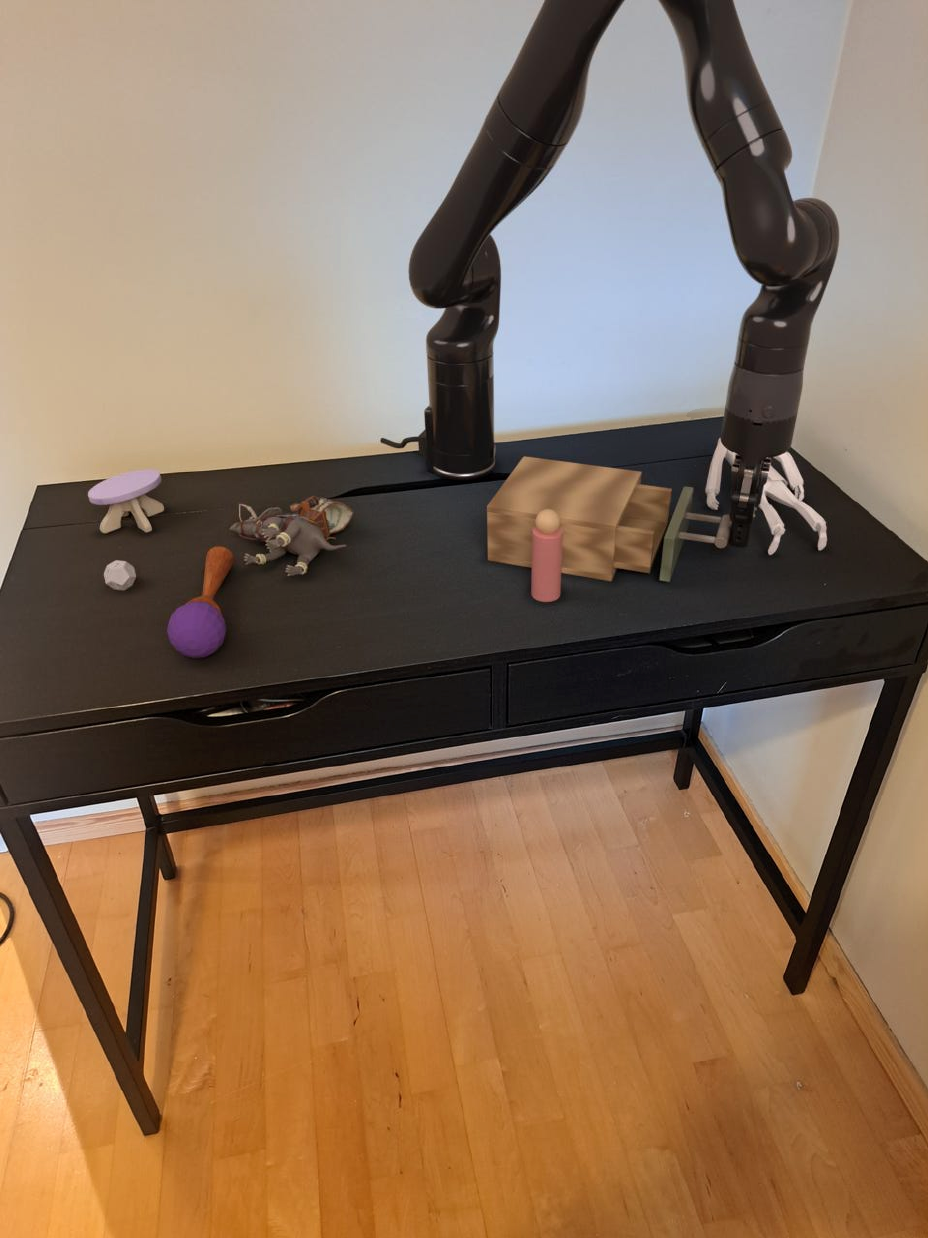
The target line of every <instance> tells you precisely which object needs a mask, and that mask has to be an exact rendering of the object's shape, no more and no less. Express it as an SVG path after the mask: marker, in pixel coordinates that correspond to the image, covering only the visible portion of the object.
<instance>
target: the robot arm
mask: <svg viewBox="0 0 928 1238" xmlns="http://www.w3.org/2000/svg"><path fill="white" fill-rule="evenodd" d="M625 1H626V0H544V1H543V3H542V5H541V7H540V9H539V11H538V14H537V16H536V18H535V19H534V21H533V24H532V26H531V27H530V30H529V31H528V34H527V36H526V38H525V40H524V42H523V44H522V46H521V48H520V50H519V52H518V54H517V57H516V59H515V61H514V63H513V65H512V66H511V69H510V71H509V72H508V74H507V75H506V77H505V80H504V81H503V83H502V85H501V87H500V88H499V90H498V92H497V95H496V96H495V98H494V100H493V102H492V103H491V104H492V105H491V106H490V109H489V110H488V113H487V114H486V116H485V118H484V120H483V123H482V124H481V128H480V129H479V132H478V133H477V136H476V138H475V140H474V142H473V144H472V146H471V148H470V149H469V152H468V153H467V155H466V157H465V159H464V161H463V163H462V165H461V167H460V169H459V170H458V173H457V175H456V177H455V179H454V181H453V182H452V184H451V187H450V189H449V190H448V192H447V193H446V195H445V197H444V198H443V200H442V201H441V203H440V205H439V206H438V208H437V209H436V211H435V213H434V214H433V216H432V217H431V219H430V220H429V221H428V223H427V225H426V226H425V228H424V229H423V231H422V232H421V234H420V235H419V236H418V237H417V240H416V242H415V244H414V246H413V248H412V250H411V253H410V256H409V259H408V260H409V261H408V270H407V271H408V281H409V287H410V289H411V292H412V293H413V295H414V297H415V298H416V300H417V301H418V302H419V303H421V304H422V305H424V306H425V307H428V308H431V309H435V310H436V309H438V310H439V309H440V310H441V309H444V310H443V313H442V314H441V316H440V318H439V319H438V320H437V321H436V322H435V323H434V325H433V326H432V327H431V328H430V329H429V330H428V332H427V333H426V335H425V336H426V337H425V351H426V367H427V385H428V386H427V387H428V389H427V390H428V406H426V408H424V412H423V414H424V415H423V417H424V430H423V431H422V432H421V433H419V434H418V435H417V436H408V437H406V438H403V439H402V441H401V442H395V441H392V440H389V439H387V438H385V437H380V441H379V442H380V444H384V445H385V446H388V447H391V448H393V449H404V448H406V446H407V444H409V443H418V456H423V457H426V469H427V472H430V473H434V474H435V475H436V476H438V477H440V478H443V479H447V480H450V481H471V480H478V479H481V478H484V477H486V476H488V475H490V474H492V473H493V472H494V470H495V468H496V457H495V456H496V453H497V446H496V445H497V444H496V443H497V442H496V441H495V377H494V375H495V374H494V373H495V371H494V370H495V369H494V360H495V359H494V358H495V357H494V342H495V339H496V337H497V334H498V331H499V328H500V314H501V313H500V312H501V294H502V293H501V291H502V265H501V256H500V252H499V249H498V246H497V243H496V241H495V239H494V237H493V236H492V233H493V231H494V230H495V229H496V228H497V227H498V226H499V225H500V224H501V223H502V222H503V221H504V220H505V219H506V218H507V217H508V216H509V215H510V214H511V213H512V212H514V211H515V210H516V209H517V208H518V207H519V206H520V205H521V204H522V203H524V201H525V200H527V198H529V197H530V196H531V194H533V193H534V192H535V191H536V190H537V189H538V187H540V186H541V184H542V183H543V182H544V181H545V180H546V179H547V177H548V176H549V175H550V173H552V171H553V169H554V168H555V166H556V165H557V163H558V161H559V159H560V158H561V156H562V155H563V153H564V151H565V150H566V148H567V147H568V145H569V143H570V141H571V140H572V139H573V136H574V134H575V132H576V130H577V128H578V126H579V124H580V121H581V118H582V115H583V112H584V109H585V104H586V96H587V91H588V90H587V89H588V83H589V82H588V81H589V74H590V69H591V63H592V61H593V57H594V54H595V52H596V50H597V47H598V46H599V44H600V41H601V40H602V37H603V36H604V34H605V33H606V31H607V29H608V28H609V26H610V24H611V23H612V21H613V19H614V17H615V16H616V14H617V13H618V12H619V10H620V9H621V7H622V5H623V4H624V3H625ZM657 2H658V3H659V4H660V6H661V8H662V9H663V11H664V13H665V15H666V17H667V18H668V20H669V22H670V24H671V27H672V29H673V31H674V33H675V36H676V39H677V42H678V47H679V50H680V53H681V58H682V66H683V73H684V82H685V94H686V101H687V107H688V112H689V116H690V119H691V123H692V126H693V129H694V132H695V134H696V136H697V139H698V141H699V144H700V146H701V148H702V150H703V152H704V155H705V157H706V159H707V161H708V164H709V166H710V168H711V170H712V172H713V173H714V176H715V178H716V180H717V182H718V183H719V186H720V189H721V192H722V199H723V207H724V212H725V217H726V220H727V221H726V222H727V227H728V231H729V234H730V239H731V244H732V247H733V250H734V252H735V255H736V257H737V260H738V262H739V264H740V265H741V267H742V268H743V270H744V271H745V272H746V274H747V275H748V276H749V277H750V278H751V279H752V280H753V281H754V282H756V283H758V284H759V285H760V289H759V291H758V294H757V297H756V298H755V299H754V301H753V302H752V303H751V304H750V305H749V306H748V307H747V308H745V311H744V313H743V314H742V317H741V319H740V324H739V329H738V334H737V339H736V340H737V341H736V348H735V355H734V361H733V366H732V370H731V373H730V375H729V381H728V385H727V393H726V399H725V405H724V413H723V420H722V424H721V425H722V426H721V432H720V438H721V442H722V444H723V446H724V447H725V448H726V449H728V450H729V451H731V452H734V453H736V455H735V460H734V463H733V465H732V466H731V471H730V476H729V477H730V481H731V486H730V492H729V501H730V504H731V505H730V512H729V514H728V515H729V517H730V521H732V522H731V528H730V535H729V538H728V542H727V545H728V546H730V547H733V548H734V547H735V548H742V549H745V548H747V547H748V544H749V540H750V536H751V535H750V534H751V529H752V524H753V522H754V521H755V517H756V513H757V509H758V505H760V503H761V498H762V494H763V489H764V485H765V484H766V482H767V478H768V473H769V469H770V464H771V465H772V458H773V457H776V456H779V455H782V454H784V453H785V452H788V451H789V450H790V449H791V447H792V443H793V439H794V434H795V429H796V424H797V420H798V419H797V418H798V414H799V409H800V403H801V398H802V394H803V386H804V371H805V365H806V358H807V354H808V350H809V344H810V338H811V332H812V331H811V330H812V326H813V325H812V324H813V321H814V319H815V316H816V314H817V311H818V309H819V307H820V304H821V302H822V300H823V297H824V295H825V291H826V290H827V289H826V288H827V287H828V283H829V281H830V279H831V275H832V273H833V270H834V266H835V264H836V260H837V256H838V252H839V246H840V225H839V219H838V217H837V214H836V213H835V211H834V209H833V208H832V207H831V206H830V205H829V204H828V203H826V201H824V200H822V199H819V198H815V197H802V198H801V197H800V198H797V199H795V200H793V197H792V194H791V191H790V185H789V183H788V180H787V177H786V172H785V171H786V170H787V169H788V168H789V167H790V165H791V163H792V160H793V159H792V158H793V150H792V145H791V143H790V140H789V137H788V135H787V132H786V130H785V128H784V126H783V123H782V121H781V118H780V117H779V115H778V112H777V110H776V108H775V106H774V104H773V101H772V98H771V97H770V94H769V92H768V90H767V88H766V86H765V83H764V81H763V79H762V77H761V74H760V72H759V70H758V67H757V64H756V62H755V60H754V57H753V55H752V52H751V50H750V47H749V44H748V41H747V39H746V36H745V33H744V29H743V27H742V24H741V21H740V18H739V15H738V12H737V11H738V10H737V8H736V5H735V1H734V0H657Z"/></svg>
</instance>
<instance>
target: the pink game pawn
mask: <svg viewBox="0 0 928 1238" xmlns="http://www.w3.org/2000/svg"><path fill="white" fill-rule="evenodd" d="M560 523H561V520H560V516H559V515H558V513H557V512H555V511H554V510H551V509H545V510H542V511H541V512H539V513H538V515H537V517H536V520H535V524H536V526H535V527H534V528H533V530H532V568H531V582H530V583H531V584H530V587H531V588H530V594H531V597H532V598H533V599H534V600H536V601H538V602H543V603H549V602H550V603H551V602H554V601H557V600H559V598H560V597H561V589H562V573H561V569H562V544H563V530H562V528H561V527H560Z"/></svg>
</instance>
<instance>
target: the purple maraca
mask: <svg viewBox="0 0 928 1238" xmlns="http://www.w3.org/2000/svg"><path fill="white" fill-rule="evenodd" d="M234 561H235V558H234V554H233V553H232V551H231V550H230V549H228V548H227V547H225V546H213V547H211V548H210V549H209V550H208V551H207V552H206V556H205V565H204V576H203V585H202V595H200V596H197V597H194V598H192V599H190V600H188V601H187V602H186V603H185V604H183V605H181V606H179V607H177V608H176V609H175V610H174V612H172V614H171V616H170V618H169V621H168V625H167V629H166V632H167V636H168V640H169V642H170V645H172V647H173V648H174V650H175V651H176V652H177V653H179V654H181V655H183V656H184V657H187V658H192V659H200V658H202V659H203V658H205V657H208V656H210V655H213V653H216V652H217V651H218V650H219V649H220V647H221V646H222V645H223V644H224V640H225V636H226V633H227V625H226V620H225V619H224V617H223V614H222V611H221V608H220V607H219V606H218V604H217V603H216V601H215V600H214V598H215V596H216V594H217V593H218V591H219V589H220V587H221V586H222V584H223V582H224V580H225V579H226V577H227V575H228V573H229V572H230V570H231V568H232V567H233V565H234Z"/></svg>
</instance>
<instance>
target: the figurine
mask: <svg viewBox="0 0 928 1238" xmlns="http://www.w3.org/2000/svg"><path fill="white" fill-rule="evenodd" d="M241 507H244V508H246V509H247V511H248V512H250V514H251V516H249V518H248V519H246V520H242V518H241ZM289 509H290V512H283V510H282V509H281V508H280V507H270V508H267V509H266V510H264V511H263V512H262V513H261V514H260V515H259V516H258V515H257V514H256V512H255V511H254V509H253V508H252V506H249V505H247V504H245V503H244V504H243V503H238V512H239V513H238V515H239V520H240V521H239V522H235V523H233V524H232V525H231V526H230V528H229V531H232V532H234V533H237V535H239V536H240V537H242V538H243V539H247V540H253V541H261V542H263V543H264V542H265V543H266V544H265V546H266V549H268V553H265V554H263V553H257V554H256V555H255V556H253V555H250V554H249V553H244V554H245V556H243V561H245V562H246V563H245V565H253V564H257V565H264V564H265V563H266V562H272V561H275V560H277V559H279V558H281V557H283V556H285V555H286V553H287V552H288V553H289V554H292V555H298V556H297V560H296V564H295V565H294V566H293V565H289V564H288V565H286V568H285V573H288V574H287V577H293V576H296V575H305V574H307V570H308V566H309V565H310V563H311V562H312V560H313V559H314V558H315V557H316V556H318V554H319V552H321V550H324V551H329V552H332V551H337V550H339V549H342V548H346V547H347V544H339V545H333V544H330V541H328V540H329V539H330V540H331V539H332V540H336V539H337V538H336V537H335V536H330V535H332V534H337V533H339V532H341V531H344V529H346V527H347V526H348V525H349V523H350V521H351V520H352V518H353V516H354V511H353V510H352V509H351V508H350V506H348V505H347V504H345V503H344V502H340V501H337V500H334V501H333V500H332V499H327V498H325V497H322V496H320V497H318V496H317V495H311V496H309V497H308V498H307V499H305V500H302V501H301V502H300V503H296V502H295V503H293V504H291V505H290V506H289Z"/></svg>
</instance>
